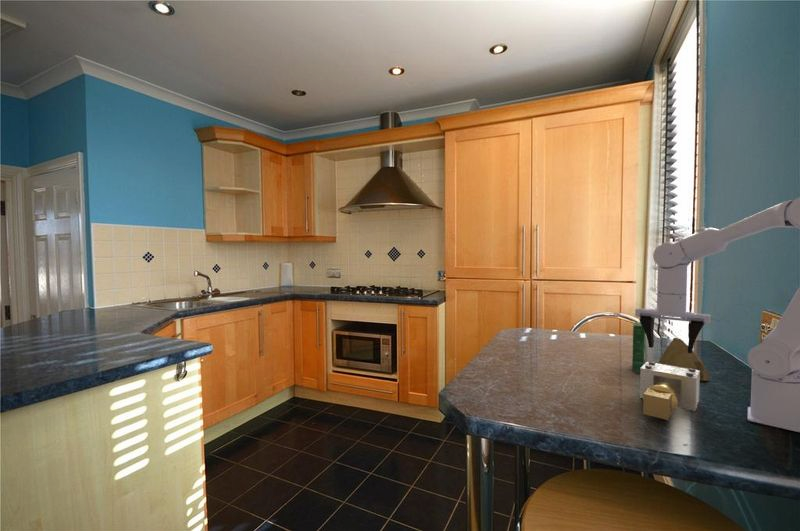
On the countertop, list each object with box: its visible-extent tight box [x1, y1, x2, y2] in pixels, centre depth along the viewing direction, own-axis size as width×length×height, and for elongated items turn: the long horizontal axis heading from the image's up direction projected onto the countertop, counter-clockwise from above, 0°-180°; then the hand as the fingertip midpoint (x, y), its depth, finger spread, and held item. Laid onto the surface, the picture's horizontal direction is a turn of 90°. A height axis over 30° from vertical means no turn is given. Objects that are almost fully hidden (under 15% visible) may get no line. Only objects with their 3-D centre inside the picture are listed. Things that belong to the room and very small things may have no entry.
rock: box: [658, 337, 710, 382], centre depth 100 cm, size 11×9×10 cm
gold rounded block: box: [642, 381, 678, 421], centre depth 76 cm, size 12×6×6 cm, turn 137°
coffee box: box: [631, 321, 646, 374], centre depth 107 cm, size 8×3×13 cm, turn 144°
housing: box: [639, 361, 701, 412], centre depth 84 cm, size 10×7×7 cm
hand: (670, 349), depth 90 cm, fingers open, 7 cm apart
